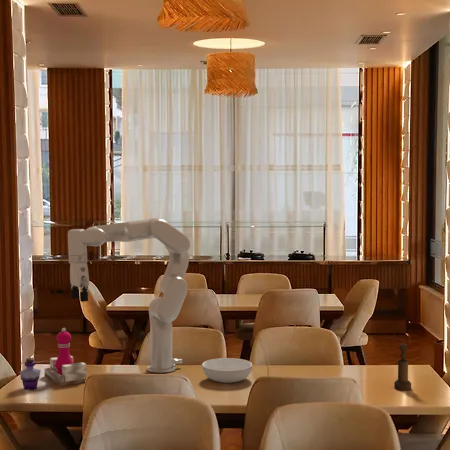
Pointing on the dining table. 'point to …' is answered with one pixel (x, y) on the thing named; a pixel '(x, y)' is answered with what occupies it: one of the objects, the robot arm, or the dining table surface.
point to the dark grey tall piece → (402, 371)
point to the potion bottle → (30, 375)
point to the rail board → (66, 373)
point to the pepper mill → (63, 350)
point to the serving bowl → (227, 369)
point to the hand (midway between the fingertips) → (79, 299)
